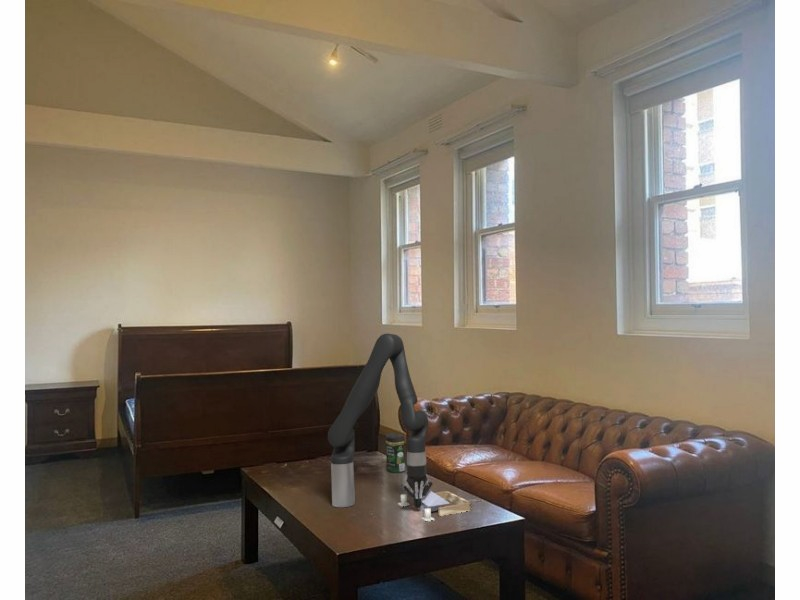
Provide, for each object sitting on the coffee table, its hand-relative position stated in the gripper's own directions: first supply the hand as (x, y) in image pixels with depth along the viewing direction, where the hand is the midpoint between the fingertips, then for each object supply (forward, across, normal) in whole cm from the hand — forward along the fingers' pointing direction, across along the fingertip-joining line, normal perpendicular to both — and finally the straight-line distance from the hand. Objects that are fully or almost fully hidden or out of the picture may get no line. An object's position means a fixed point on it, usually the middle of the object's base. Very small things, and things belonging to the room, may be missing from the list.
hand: (417, 507), depth 239 cm
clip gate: (+2, +1, 0) cm, 2 cm away
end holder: (+2, -11, 0) cm, 11 cm away
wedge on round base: (+2, -7, 0) cm, 7 cm away
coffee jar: (+2, -18, -62) cm, 65 cm away
